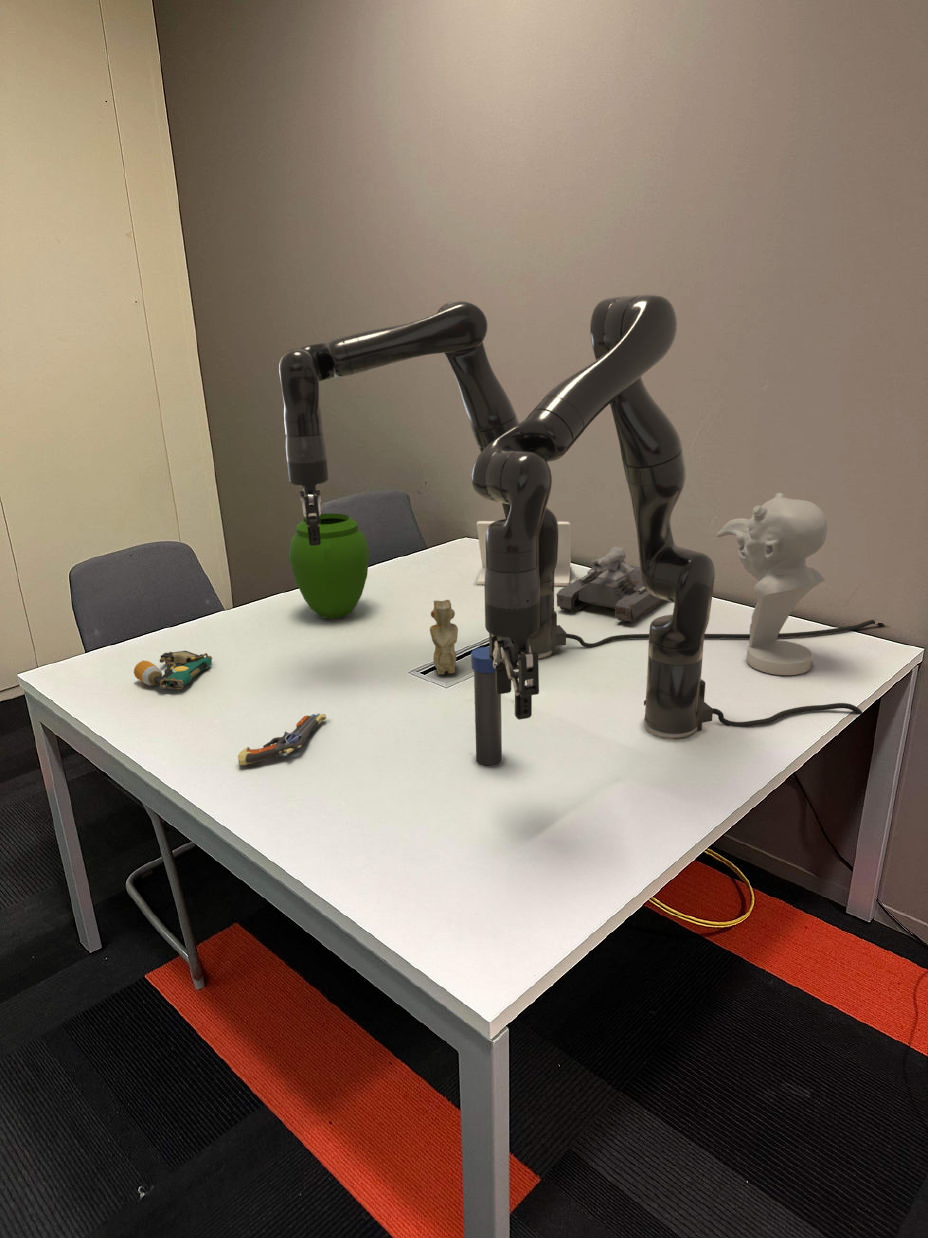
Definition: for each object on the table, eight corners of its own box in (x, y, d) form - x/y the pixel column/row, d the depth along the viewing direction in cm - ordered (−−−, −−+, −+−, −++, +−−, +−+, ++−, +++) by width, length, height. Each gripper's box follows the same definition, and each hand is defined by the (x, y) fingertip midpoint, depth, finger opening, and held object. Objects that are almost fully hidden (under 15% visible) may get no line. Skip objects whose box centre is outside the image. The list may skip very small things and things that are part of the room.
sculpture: (458, 662, 183) (456, 596, 178) (460, 676, 176) (457, 608, 171) (431, 663, 183) (428, 597, 177) (431, 677, 176) (428, 609, 171)
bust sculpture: (745, 630, 196) (760, 478, 183) (832, 666, 176) (855, 499, 163) (692, 644, 189) (703, 487, 176) (776, 683, 169) (796, 510, 156)
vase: (389, 608, 216) (383, 514, 208) (339, 633, 201) (330, 533, 192) (330, 596, 226) (322, 506, 218) (278, 619, 211) (267, 523, 202)
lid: (487, 657, 142) (486, 644, 141) (509, 666, 138) (509, 652, 137) (465, 667, 139) (464, 653, 138) (487, 675, 135) (486, 661, 134)
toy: (603, 584, 229) (605, 530, 224) (673, 597, 218) (677, 540, 213) (555, 612, 210) (556, 553, 205) (630, 627, 199) (633, 566, 194)
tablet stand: (569, 585, 229) (570, 524, 223) (476, 584, 232) (475, 523, 226) (570, 566, 246) (571, 508, 240) (484, 564, 249) (483, 507, 243)
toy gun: (232, 755, 143) (287, 753, 141) (276, 711, 161) (326, 708, 159) (235, 770, 144) (291, 767, 142) (279, 724, 162) (329, 722, 160)
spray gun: (177, 659, 191) (231, 671, 185) (120, 684, 176) (176, 698, 171) (176, 641, 190) (230, 653, 184) (118, 665, 175) (174, 678, 169)
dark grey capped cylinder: (489, 751, 147) (486, 648, 141) (507, 759, 144) (506, 655, 138) (471, 760, 145) (467, 655, 138) (489, 769, 142) (486, 663, 135)
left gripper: (328, 462, 158) (335, 547, 164) (324, 450, 171) (331, 529, 177) (287, 465, 157) (295, 550, 162) (286, 452, 170) (294, 532, 176)
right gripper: (557, 610, 110) (556, 722, 116) (520, 578, 123) (521, 681, 129) (502, 617, 108) (504, 731, 114) (470, 584, 121) (473, 688, 127)
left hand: (314, 539), depth 170 cm, fingers open, 8 cm apart
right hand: (513, 704), depth 121 cm, fingers open, 8 cm apart
